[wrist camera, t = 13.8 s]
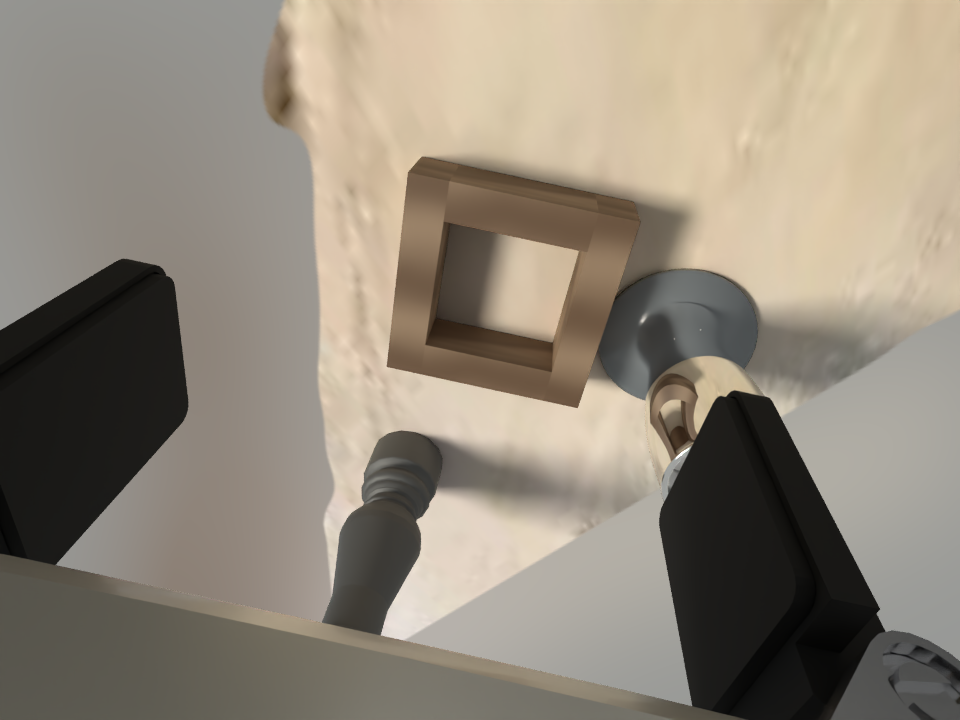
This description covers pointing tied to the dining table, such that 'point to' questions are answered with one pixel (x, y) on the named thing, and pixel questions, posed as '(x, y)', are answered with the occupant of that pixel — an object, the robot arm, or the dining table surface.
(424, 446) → the candle holder
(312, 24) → the dining table surface
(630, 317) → the coaster
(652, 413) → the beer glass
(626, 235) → the frame
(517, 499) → the dining table surface
